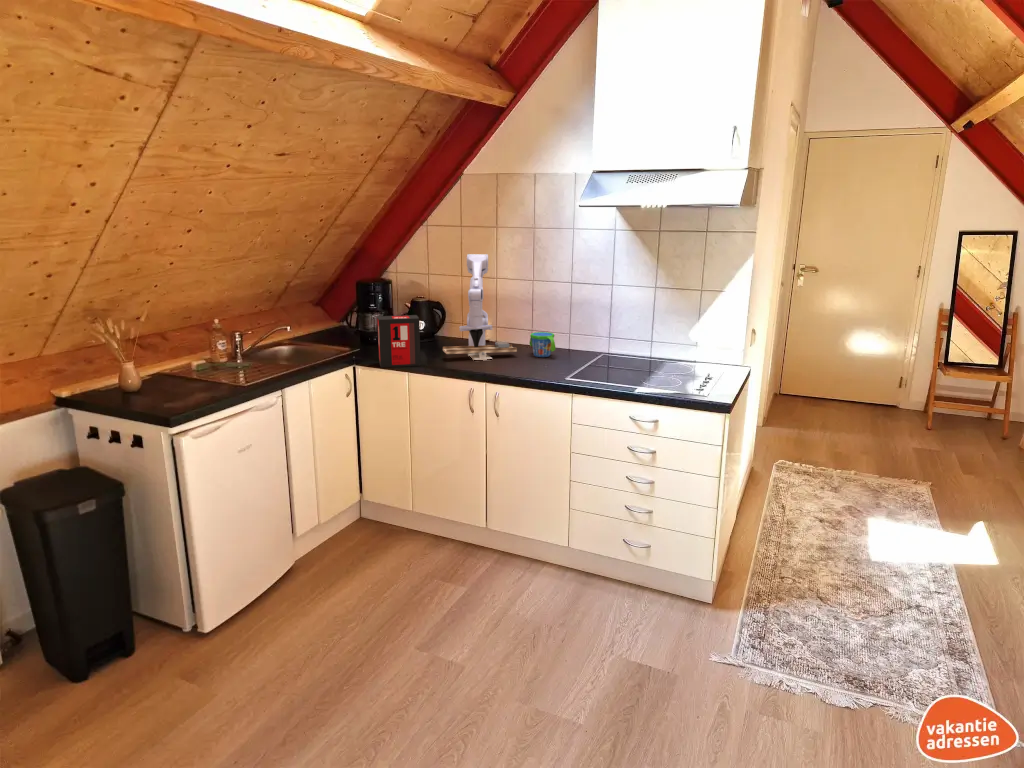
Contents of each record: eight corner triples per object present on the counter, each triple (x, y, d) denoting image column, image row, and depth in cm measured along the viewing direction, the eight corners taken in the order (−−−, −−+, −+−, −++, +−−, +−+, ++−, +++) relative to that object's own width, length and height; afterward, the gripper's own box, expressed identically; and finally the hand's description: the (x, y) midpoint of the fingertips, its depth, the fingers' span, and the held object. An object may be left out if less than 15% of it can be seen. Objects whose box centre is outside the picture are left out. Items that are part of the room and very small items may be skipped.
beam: (446, 354, 286) (446, 349, 286) (442, 350, 293) (442, 346, 292) (516, 351, 296) (516, 347, 296) (511, 348, 303) (511, 344, 302)
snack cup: (522, 354, 304) (523, 332, 301) (542, 351, 309) (542, 330, 307) (541, 360, 291) (542, 337, 289) (561, 358, 296) (562, 335, 294)
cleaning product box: (380, 367, 276) (378, 319, 271) (379, 362, 284) (377, 316, 279) (420, 365, 280) (419, 318, 275) (417, 360, 288) (416, 315, 283)
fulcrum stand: (468, 355, 299) (468, 347, 298) (485, 354, 301) (485, 347, 301) (474, 361, 289) (474, 352, 288) (492, 359, 291) (492, 351, 290)
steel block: (495, 347, 299) (495, 341, 298) (505, 347, 300) (505, 341, 300) (498, 349, 294) (498, 344, 294) (509, 349, 296) (509, 343, 295)
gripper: (462, 318, 284) (462, 349, 287) (494, 316, 288) (494, 347, 292) (458, 315, 290) (458, 346, 294) (489, 314, 295) (489, 344, 298)
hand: (476, 346), depth 293 cm, fingers closed
